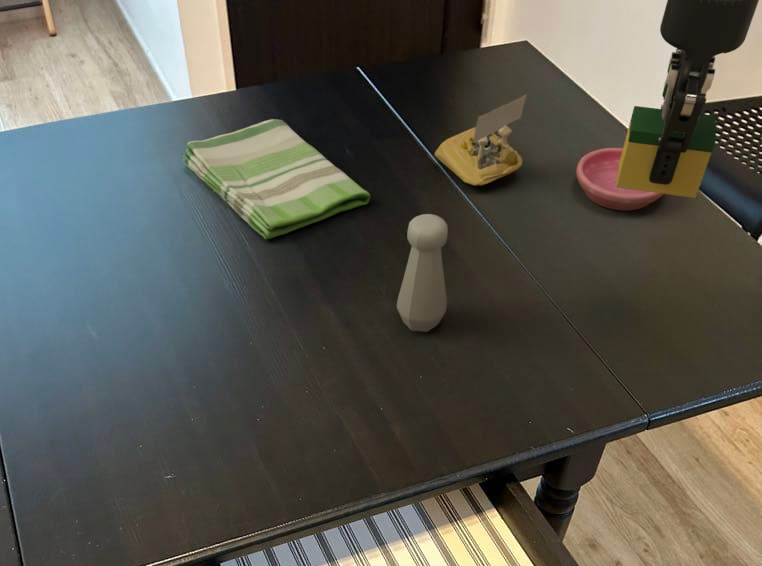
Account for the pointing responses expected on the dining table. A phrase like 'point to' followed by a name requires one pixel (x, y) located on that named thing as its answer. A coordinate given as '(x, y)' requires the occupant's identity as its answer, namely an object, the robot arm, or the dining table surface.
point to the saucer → (609, 181)
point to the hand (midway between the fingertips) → (660, 166)
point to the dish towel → (273, 178)
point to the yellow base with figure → (484, 147)
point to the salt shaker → (424, 274)
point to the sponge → (644, 148)
